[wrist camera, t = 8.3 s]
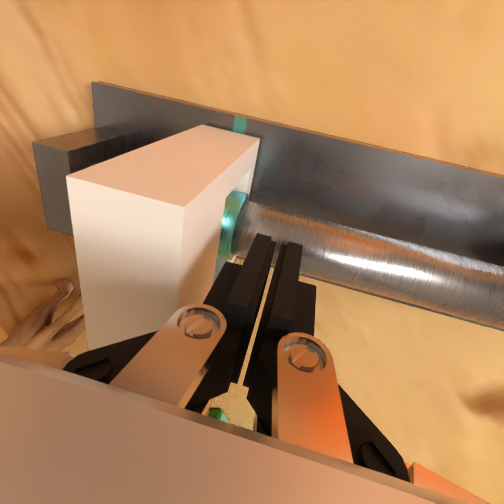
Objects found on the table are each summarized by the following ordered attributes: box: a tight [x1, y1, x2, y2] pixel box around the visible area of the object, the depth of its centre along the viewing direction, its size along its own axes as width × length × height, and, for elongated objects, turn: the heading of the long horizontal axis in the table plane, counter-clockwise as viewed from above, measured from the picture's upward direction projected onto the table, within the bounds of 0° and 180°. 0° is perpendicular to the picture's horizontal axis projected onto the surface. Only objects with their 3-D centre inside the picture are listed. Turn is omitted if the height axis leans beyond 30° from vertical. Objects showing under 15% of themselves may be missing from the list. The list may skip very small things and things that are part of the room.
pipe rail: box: [32, 82, 504, 331], centre depth 15 cm, size 26×8×6 cm, turn 79°
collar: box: [66, 125, 260, 351], centre depth 13 cm, size 3×7×9 cm, turn 169°
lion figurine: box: [0, 279, 86, 351], centre depth 23 cm, size 15×5×9 cm, turn 144°
